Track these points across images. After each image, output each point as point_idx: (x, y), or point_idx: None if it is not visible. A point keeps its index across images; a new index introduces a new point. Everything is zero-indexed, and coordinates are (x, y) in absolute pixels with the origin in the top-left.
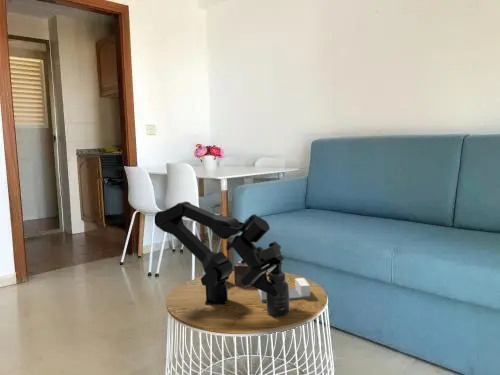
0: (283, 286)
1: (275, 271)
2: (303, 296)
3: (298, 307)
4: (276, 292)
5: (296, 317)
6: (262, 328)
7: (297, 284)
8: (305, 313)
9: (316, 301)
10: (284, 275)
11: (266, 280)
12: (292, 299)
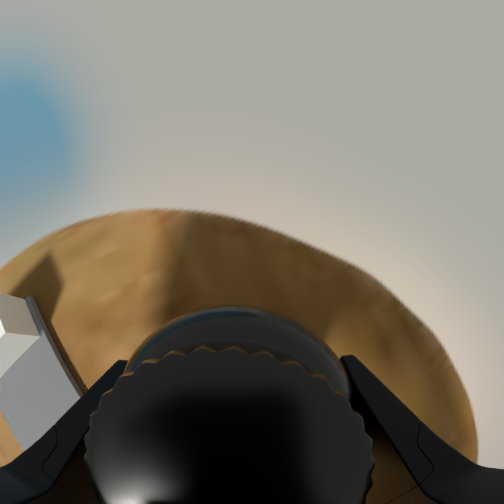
0: (283, 327)
1: None
2: (36, 325)
3: (136, 309)
4: (349, 365)
5: (255, 266)
6: (427, 342)
7: None
8: (190, 247)
9: (54, 259)
10: (187, 352)
11: (448, 469)
12: (69, 371)
